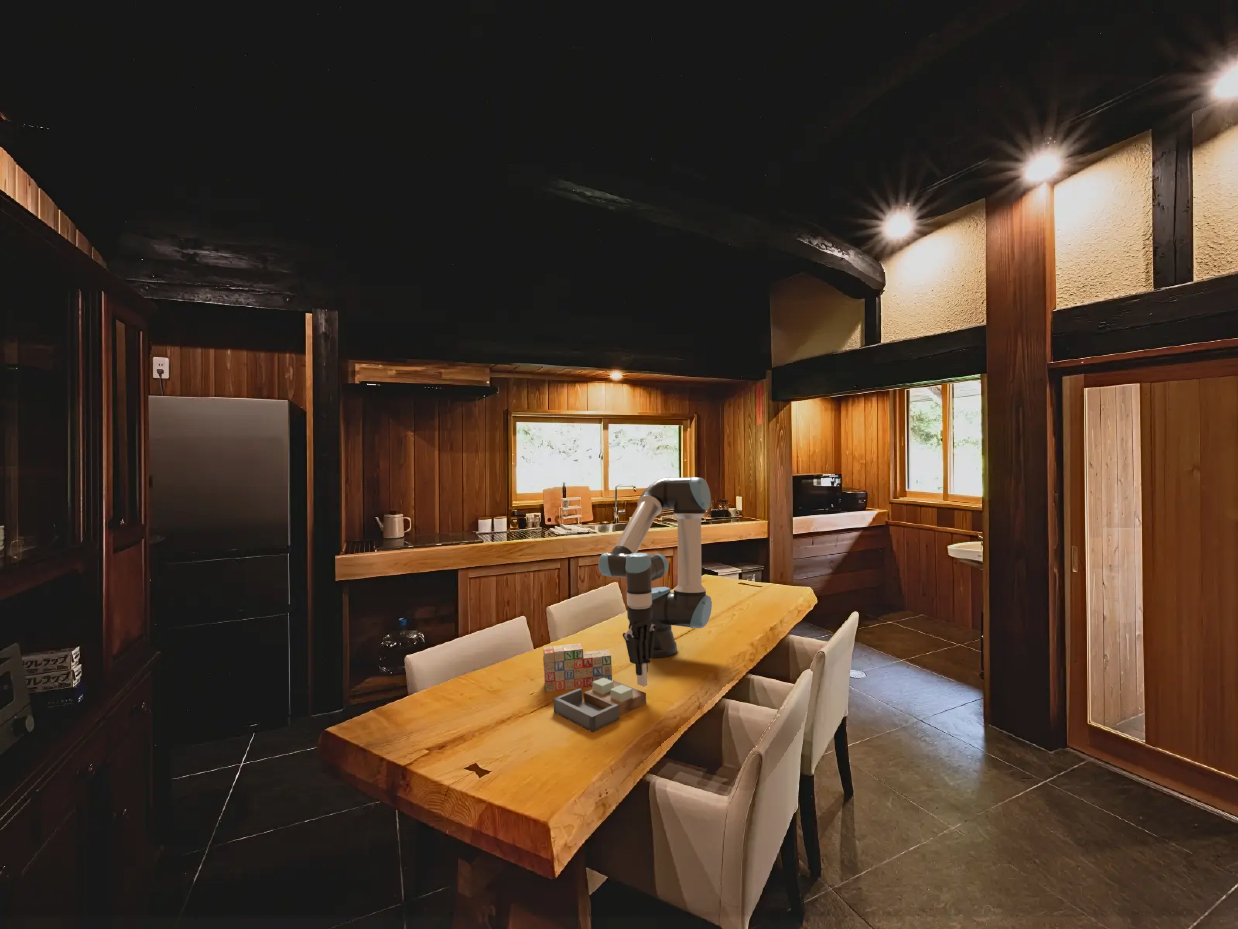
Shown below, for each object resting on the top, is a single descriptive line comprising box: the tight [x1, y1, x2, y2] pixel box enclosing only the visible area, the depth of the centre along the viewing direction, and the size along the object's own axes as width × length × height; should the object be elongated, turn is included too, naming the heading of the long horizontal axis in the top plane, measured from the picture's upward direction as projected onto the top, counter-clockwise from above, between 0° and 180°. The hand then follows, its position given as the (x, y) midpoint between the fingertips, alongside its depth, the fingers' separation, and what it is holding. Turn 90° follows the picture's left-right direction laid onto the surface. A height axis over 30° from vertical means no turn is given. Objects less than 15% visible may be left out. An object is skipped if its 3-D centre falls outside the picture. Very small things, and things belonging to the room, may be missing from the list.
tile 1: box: [591, 678, 614, 695], centre depth 163 cm, size 4×4×2 cm
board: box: [583, 679, 647, 717], centre depth 161 cm, size 12×14×3 cm
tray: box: [552, 687, 621, 733], centre depth 153 cm, size 10×17×4 cm, turn 43°
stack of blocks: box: [542, 642, 613, 692], centre depth 176 cm, size 21×6×12 cm, turn 101°
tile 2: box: [610, 684, 633, 703], centre depth 157 cm, size 4×4×2 cm
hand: (642, 684), depth 163 cm, fingers closed
